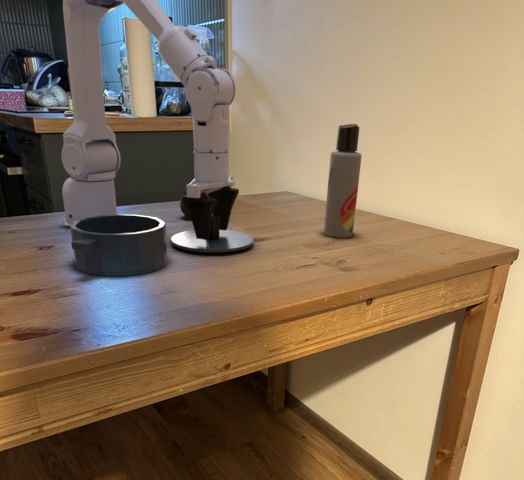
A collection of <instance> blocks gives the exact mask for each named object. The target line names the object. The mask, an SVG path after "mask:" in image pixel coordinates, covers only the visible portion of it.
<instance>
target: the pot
mask: <svg viewBox="0 0 524 480" xmlns="http://www.w3.org/2000/svg"><path fill="white" fill-rule="evenodd" d="M166 228H167V227H166V222H165V221H164V220H162V219H160V218H159V217H157V216H150V215H141V214H126V213H125V214H123V213H121V214H120V213H117V214H116V215H101V216H94V217H87V218H84V219H80V220H77V221H75V222H73V223H72V224H71V225H70V227H69V229H70V235H71V249H72V250H73V256H74V262H75V266H76V268H77V269H78V270H79V271H81V272H83V273H85V274H90V275H95V276H104V277H128V276H129V277H130V276H138V275H144V274H147V273H148V274H149V273H152V272H155V271H158V270H160V269H162V268H163V267H165V266H166V264H167V262H168V260H167V259H168V245H167V229H166Z"/></svg>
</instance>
